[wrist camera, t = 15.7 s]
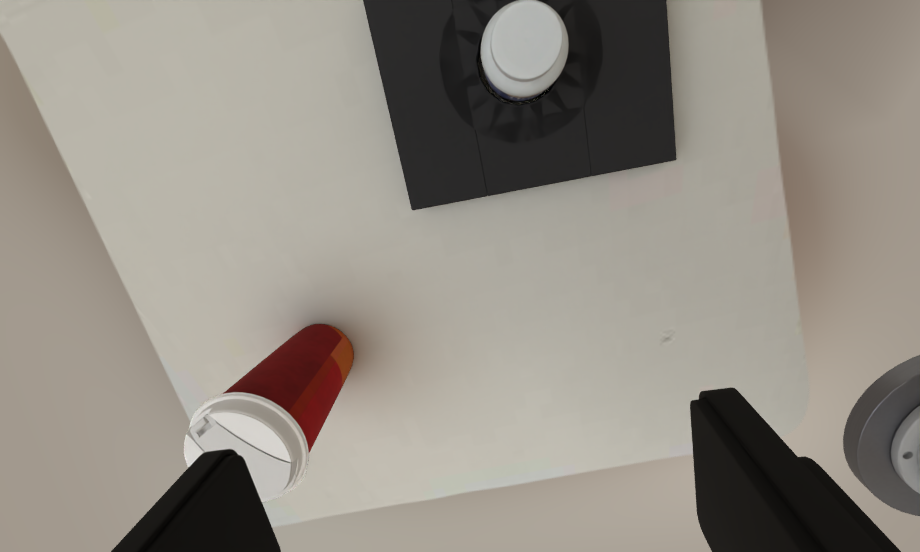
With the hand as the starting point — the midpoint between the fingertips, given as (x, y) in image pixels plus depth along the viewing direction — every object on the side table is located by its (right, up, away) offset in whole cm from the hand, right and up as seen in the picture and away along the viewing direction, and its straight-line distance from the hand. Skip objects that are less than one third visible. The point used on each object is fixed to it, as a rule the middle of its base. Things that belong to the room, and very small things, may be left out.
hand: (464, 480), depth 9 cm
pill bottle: (+4, +20, +25) cm, 33 cm away
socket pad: (+5, +19, +25) cm, 32 cm away
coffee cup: (-13, -3, +34) cm, 37 cm away
